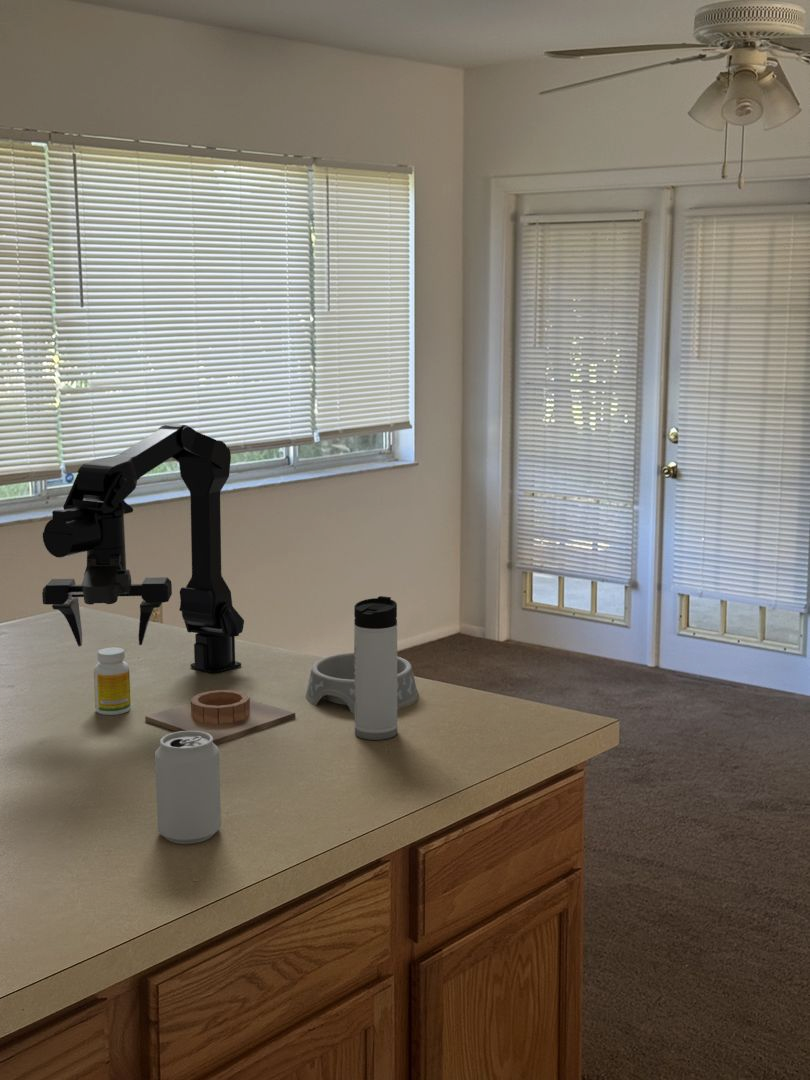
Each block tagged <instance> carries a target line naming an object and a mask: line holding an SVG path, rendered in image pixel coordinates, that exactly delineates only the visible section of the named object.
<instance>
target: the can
mask: <svg viewBox="0 0 810 1080" xmlns="http://www.w3.org/2000/svg"><path fill="white" fill-rule="evenodd" d="M212 741H213V736H211V735H210V734H208V733H205V732H201V731H179V732H175V731H173V732H171V733H167V734H166V735H164V736H163V737H161V738H160V740H159V747H158V748H157V749H156V750H155V751H154V762H155V763H154V765H155V767H154V768H155V789H156V792H155V793H156V794H155V796H156V816H157V817H156V819H157V820H156V821H157V832H158V833H159V835H161V836H163V837H164V838H165V839H166V840H167V841H170V842H171V843H175V844H181V845H183V844H184V845H185V844H187V845H189V844H196V843H201V842H204V841H207V840H209V839H211V838H212V837H213V836H214V835H215V833H217V832H218V831H219V830H220V828H221V826H222V813H221V812H222V809H221V808H222V807H221V805H222V804H221V775H220V772H221V771H220V769H221V768H220V767H221V766H220V749H219V747H218V746H217V745H215V744H214V743H213V742H212Z"/></svg>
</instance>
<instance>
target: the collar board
mask: <svg viewBox="0 0 810 1080" xmlns="http://www.w3.org/2000/svg"><path fill="white" fill-rule="evenodd" d="M144 717H145V718H144V719H145V722H146V723H149V724H153V725H156V726H158V727H161V728H164V729H167V730H170V731H173V732H179V731H201V732H205V733H208V734H210V735H211V736H213V741H212V742H213V743H214V744H215V745H216V746H217V745H219V744H222V743H225V742H229V741H232V740H235V739H237V738H241V737H244V736H247V735H249V734H252V733H254V732H258V731H260V730H261V731H262V730H263V729H267V728H270V727H272V726H275V725H279V724H282V723H284V722H287V721H291V720H293V719H295V718H296V712H295V711H290V710H287V709H285V708H282V707H281V708H280V707H278V706H275V705H271V704H267V703H263V702H261V701H257V700H254V699H251V698H250V696H249V695H248V694H247V693H246V692H241V691H238V690H234V689H233V690H230V689H216V690H209V691H204V692H200V693H198V694H195V695H194V696H192V697H191V698H190V702H188V703H184V704H181V705H177V706H175V707H171V708H168V709H167V708H166V709H163V710H161V711H157V712H155V713H151V714H148V715H146V716H144Z"/></svg>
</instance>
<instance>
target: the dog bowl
mask: <svg viewBox="0 0 810 1080" xmlns="http://www.w3.org/2000/svg"><path fill="white" fill-rule="evenodd" d="M321 698H324V699H326V700H327V701H329V702H331V703H334V704H338V705H342V706H343V705H344V706H348V708H349V710H350V713H351V714H355V680H354V651H352V652H345V653H343V652H342V653H338V654H332V655H329V656H326V657H323V658H320V659H319V660H316V661H315V662H314V663H313V664H312V666H311V669H310V674H309V679H308V684H307V689H306V692H305V699H306V701H307V702H308V703H310V704H311V705H313V706H314V707H316V706H317V704H318V703H319V701H320V700H321ZM418 698H419V691H418V689H417V684H416V679H415V676H414V671H413V666H412V664H411V663H410V662H409V661H408V660H407V659H405V658H403V657H400V656H398V655H397V710H399V709H402V708H406V707H408V706H410V705H412V704H414V703H415V702H416V701H418Z"/></svg>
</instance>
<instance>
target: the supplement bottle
mask: <svg viewBox="0 0 810 1080" xmlns="http://www.w3.org/2000/svg"><path fill="white" fill-rule="evenodd" d="M125 658H126V657H125V649H124V648H121V647H105V648H102V649H99V650H97V661H98V663H96V664H95V666H94V668H93V683H94V687H93V688H94V709H95V711H96V713H98V714H99V715H102V716H103V715H106V716H118V715H121V714H126V713H127V712H128V711H130V709H131V706H132V705H131V683H130V682H131V681H130V678H131V677H130V666H129V663H127V662H126V661H124V659H125Z"/></svg>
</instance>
